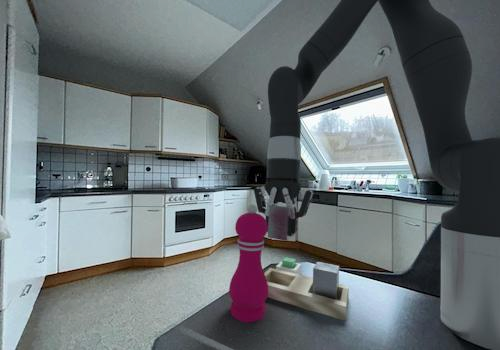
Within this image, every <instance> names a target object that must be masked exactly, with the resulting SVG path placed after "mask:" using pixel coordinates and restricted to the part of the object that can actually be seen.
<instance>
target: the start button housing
mask: <svg viewBox="0 0 500 350" xmlns="http://www.w3.org/2000/svg"><path fill="white" fill-rule="evenodd" d="M275 269H277V270H282V271H286V272H290V273H294V274H299V275H302V264H301V263H299V262H296V267H295V268H294V269H292V268H287V267H283V266H282V261H280V262H279V263H278V264H276V266H275Z"/></svg>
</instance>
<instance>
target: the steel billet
mask: <svg viewBox="0 0 500 350" xmlns="http://www.w3.org/2000/svg"><path fill="white" fill-rule="evenodd" d="M289 211H290V209H289V207H287V206H286V204H285V205H284V204H277V205H273V206H269V221H268V232H267V238H269V239H275V240H280V241H288V240H290V239H291V238H293V237H294V235H293V236H289V219H290V215H289Z"/></svg>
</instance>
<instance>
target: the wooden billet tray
mask: <svg viewBox="0 0 500 350" xmlns="http://www.w3.org/2000/svg"><path fill="white" fill-rule="evenodd" d="M264 274H265V277H266V279H267V283H268V297H267V298H270V299H272V300H275V301H278V302H282V303H286V304H290V305H292V306H296V307H299V308H301V309H305V310H308V311H311V312H314V313H319V314H322V315H324V316H328V317H330V318H331V317H332V318H334V319H338V320H342V321H345V322H346V321H347V320H346V319H347V315H348V314H347V313H348V312H347V311H348V304H349V288H350V287H349V285H344V284H341V283H339V289H338V300H335V299H331V298H327V297H323V296H320V295H316V294H313V277H311V276H306V275H302V274H300V275H299V274H294V273H290V272H286V271H282V270H277V269H276V268H272V267H269V268H268V269H267V270H265V272H264Z"/></svg>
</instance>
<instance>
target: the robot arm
mask: <svg viewBox="0 0 500 350" xmlns="http://www.w3.org/2000/svg"><path fill="white" fill-rule="evenodd" d="M377 2H378V3H379V6H380V8H381V9H382V12H383V13H384V15H385V17H386V19H387V22H388V23H389V26H390V30H391V33H392V37H393V40H394V45H395V46H396V50H397V53H398V55H399V59H400V60H399V61H400V63H401V67H402V69H403V73H404V75H405V78H406V82H407V85H408V87H409V90H410V92H411V95H412V98H413V101H414V103H415V104H414V106H415V108H416V112H417V114H418V117H419V121H420V123H421V126H422V131H423V134H424V139H425V145H426V150H427V155H428V161H429V165H430V169H431V173H432V175H433V177H434V179H435V180H436V181H437V183H438V184H439V185H440V186H441V187H443V188H445V189H446V190H449V191H453V192H458V194H457V195H458V197H457V202H456V203H455V205H454V206H453V207H452V208H450V209H449V210H446V211H444V212H442V213H441V217H440V309H439V310H440V320H441V322H442V324H444V325H445V326H446V327H447V328H448V329H449V330H450V331H451V332H452V333H453V334H454V335H456V336H457V337H458V338H459V337H460V338H461V339H462V340H465V341H467V342H470V343H472V344H474V345H477V346H480V347H482V348H484V349H488V350H500V136H488V137H483V138H478V139H473V137H472V135H471V133H470V130H469V126H468V124H467V120H466V119H467V118H466V106H467V105H466V104H467V100H468V99H467V98H468V95H469V92H470V91H469V90H470V85H471V80H472V74H473V62H472V58H471V54H470V51H469V48H468V46H467V42H466V40H465V37H464V34H463V32H462V31H461V29H460V27H459V26H458V25H457V24H456V22H454V21H453V20H451V19H450V18H449V17H447V16H446V15H444V14H443V13H441V12H440V11H437V9H435V8H434V6H433V5H432V4H431V2H430V0H340V1H339V2H338V4H337V5H336V7H334V9H333V11H331V12H330V14H329V16H328V17H327V18H326V19H325V20H324V22H323V23H322V24H321V25H320V26H319V27H318V28H317V30H316V31H315V32H314V33H313V34H312V36H311V37H309V39H308V40H307V41H306V43H304V44H303V46H302V47H301V49H300V50H299V52H298V55H297V64H296V66H295V68H293V67H291V66H288V65H282V66H280V67H277V68H276V69H275V70H274V71H273V73H271V76H270V78H269V80H268V84H267V98H268V99H267V100H268V109H269V115H270V124H269V127H270V128H269V142H268V147H267V154H266V157H267V163H266V182H265V183H264V185H262V186H257V187H254V188H253V192H254V197H255V202H256V203H255V204H256V207H257V212H259V213H262V214H263V215H264V216H265V220H266V222H267V226H268V221H269V206H273V205H279V203H281V204H285V205H286V206H287V207H289V209H290V211H289V215H290V219H289V236H293V237H294V235H295V234H296V233H297V231H298V219H299V218H303V217H305V216H306V215H307V212H308V210H309V208H310V204H311V202H312V199H313V196H314V191H313V190H309V189H306V188H303V187H302V185H301V183H300V181H301V180H300V179H301V161H302V160H301V159H302V157H301V156H302V147H301V145H302V144H301V135H302V134H301V132H302V130H301V129H302V127H301V125H302V121H301V117H300V114H299V105H300V104H301V103H302V102H303V101H304V100H305V99H306V98H307V96H308V95H309V94H310V92H311V91H312V90H313V88H314V86H315V84H316V83H317V81H318V79H320V77H321V74H323V72H324V71H325V70H326V69H327V68H328V67H329V66H330V65H331V64H332V63H333V62H334V61H335V60H336V59H337V57H338V56H339V55H340V54H341V53H342V52H343V50H345V48H346V47H347V46H348V45H349V43H350V41H351V40H352V39H353V37H354V36H355V34H356V33H357V31H358V29H359V28H360V26H361V25H362V24H363V22H364V21H365V19H366V18H367V17H368V14H369V13H370V12H371V10H372V9H373V8H374V6H376V4H377ZM266 193H267V195H268V201H267V203H266V200H265V195H266ZM299 194H300V197H301V199H302V201H301V204H300V207H299V209H298V208H297V202H296V198H297V197H298V195H299ZM297 209H298V210H299V211H298V210H297ZM267 233H268V229H267Z"/></svg>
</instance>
